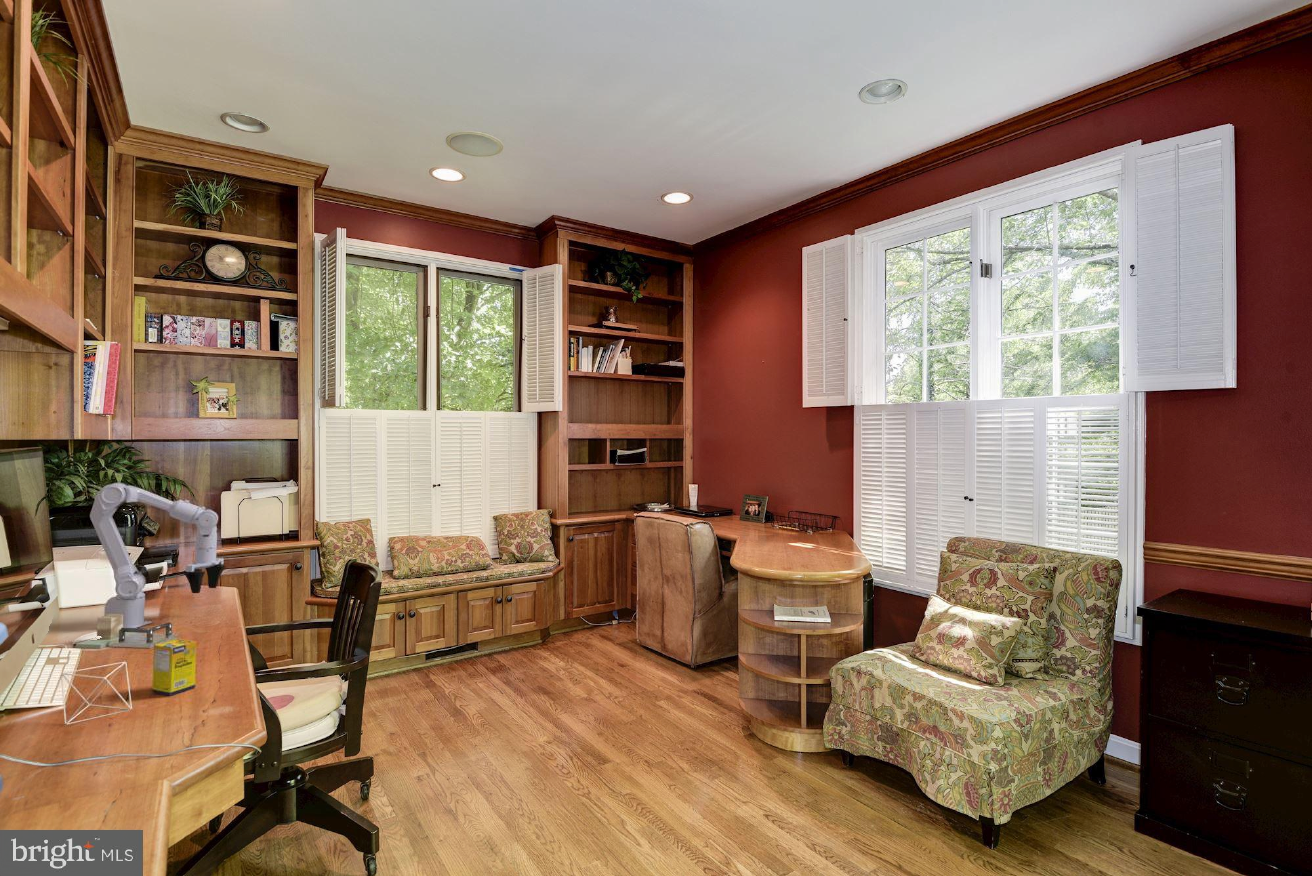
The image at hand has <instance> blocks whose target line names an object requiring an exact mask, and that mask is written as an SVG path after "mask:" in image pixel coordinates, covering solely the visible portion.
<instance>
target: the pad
mask: <svg viewBox="0 0 1312 876" xmlns="http://www.w3.org/2000/svg"><path fill="white" fill-rule="evenodd" d="M135 633H137V632H125V637H126V636H129V635H132V634H135ZM117 639H119V637H117V638H114V639H111V640H108V639H97V640H90V639H89V640H90V641H87V640H84V641H80V642H77V643H75V648H76V649H77V648H79V649H97V650H98V649H100V650H101V649H104V648H107V647H109V642H111V641H114V640H117Z"/></svg>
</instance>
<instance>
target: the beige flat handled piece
mask: <svg viewBox="0 0 1312 876" xmlns="http://www.w3.org/2000/svg"><path fill="white" fill-rule="evenodd" d="M163 629H165V633H161V632H159V633H158V632H157V631H160V630H163ZM172 629H173V624H172V623H171V622H169V621H168V622H165V623H162V624H159V625H156V626H153V627H151V628H150V627H149V628H148V627H145V628H144V627H137V628H125V627H122V628H121V629H120V630H119V639H117V640H114V641H111V642H109V646H108V647H109V648H110V647H111V648H113V647H114V648H133V649H134V648H137V649H139V648H140V649H152V648H153V649H154V645H156V644H160V643H164V642H168V641H172V640H176V639H179V634H178V633H173V632H172V631H173V630H172ZM125 632H137V633H135V634H132V635H129V636H126V637H125Z"/></svg>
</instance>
